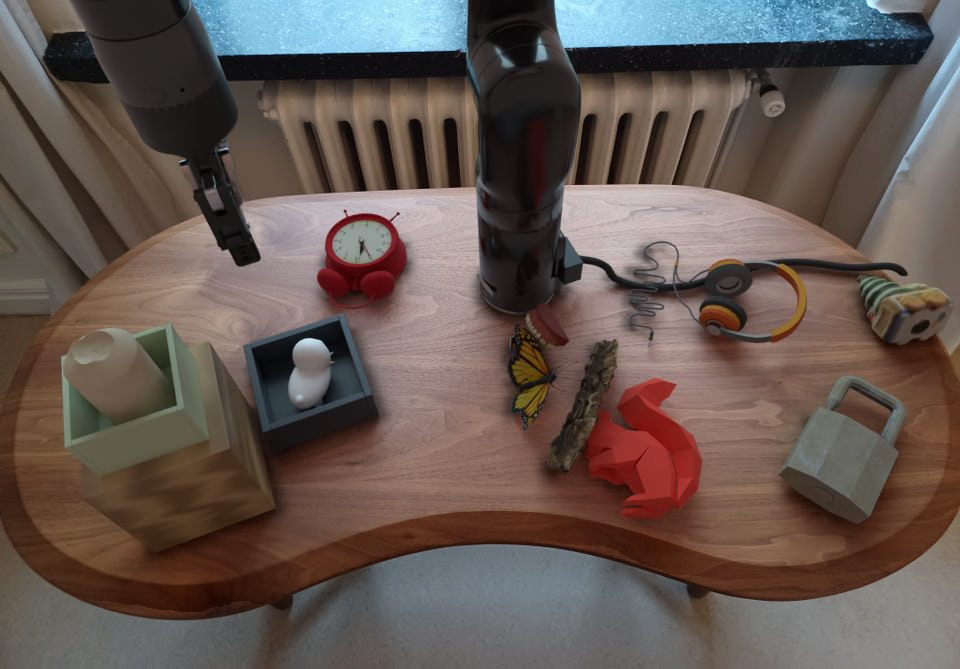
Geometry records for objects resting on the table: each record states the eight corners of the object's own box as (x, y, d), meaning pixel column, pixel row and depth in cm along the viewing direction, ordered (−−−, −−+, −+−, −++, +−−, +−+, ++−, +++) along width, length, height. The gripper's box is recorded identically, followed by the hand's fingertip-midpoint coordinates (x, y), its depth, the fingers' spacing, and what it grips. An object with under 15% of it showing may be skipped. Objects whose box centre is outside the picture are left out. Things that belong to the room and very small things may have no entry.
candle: (162, 444, 57) (105, 383, 48) (103, 433, 57) (37, 371, 49) (191, 388, 60) (141, 322, 52) (135, 378, 61) (77, 312, 52)
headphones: (640, 225, 86) (814, 233, 78) (642, 254, 90) (808, 264, 82) (611, 328, 77) (804, 349, 69) (615, 355, 81) (798, 378, 73)
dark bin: (351, 335, 80) (344, 312, 77) (379, 415, 74) (372, 394, 70) (255, 367, 78) (242, 345, 75) (275, 452, 72) (262, 432, 68)
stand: (254, 411, 75) (209, 340, 63) (276, 508, 68) (230, 448, 57) (143, 449, 73) (76, 382, 61) (155, 552, 66) (82, 500, 55)
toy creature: (344, 360, 78) (333, 328, 73) (324, 421, 73) (311, 392, 68) (306, 355, 78) (292, 324, 73) (284, 416, 74) (268, 387, 69)
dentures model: (543, 335, 70) (513, 381, 75) (575, 334, 72) (544, 379, 78) (523, 296, 73) (496, 343, 79) (555, 296, 75) (526, 342, 81)
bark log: (592, 349, 79) (590, 310, 74) (633, 359, 77) (633, 319, 72) (539, 481, 69) (531, 446, 64) (584, 495, 67) (580, 460, 62)
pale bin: (195, 358, 62) (170, 322, 58) (209, 439, 57) (184, 408, 53) (94, 390, 61) (60, 356, 56) (100, 477, 56) (64, 448, 51)
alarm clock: (410, 206, 87) (388, 276, 76) (414, 246, 92) (393, 318, 81) (332, 203, 88) (298, 272, 77) (339, 243, 92) (308, 314, 81)
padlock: (774, 478, 68) (831, 377, 75) (853, 527, 66) (904, 417, 72) (790, 463, 65) (848, 358, 72) (873, 514, 62) (925, 400, 69)
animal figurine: (686, 389, 74) (689, 362, 71) (707, 518, 65) (713, 496, 61) (580, 394, 76) (578, 368, 72) (586, 520, 67) (584, 498, 63)
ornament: (941, 341, 78) (883, 288, 85) (969, 301, 74) (906, 248, 81) (882, 351, 76) (828, 296, 83) (908, 310, 72) (849, 256, 79)
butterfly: (591, 427, 68) (559, 421, 65) (528, 445, 74) (496, 440, 71) (578, 320, 73) (548, 309, 70) (519, 345, 79) (489, 335, 75)
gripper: (235, 115, 45) (298, 271, 59) (203, 10, 53) (265, 169, 66) (121, 145, 44) (212, 298, 57) (105, 34, 52) (188, 191, 65)
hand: (240, 229), depth 62 cm, fingers open, 8 cm apart
